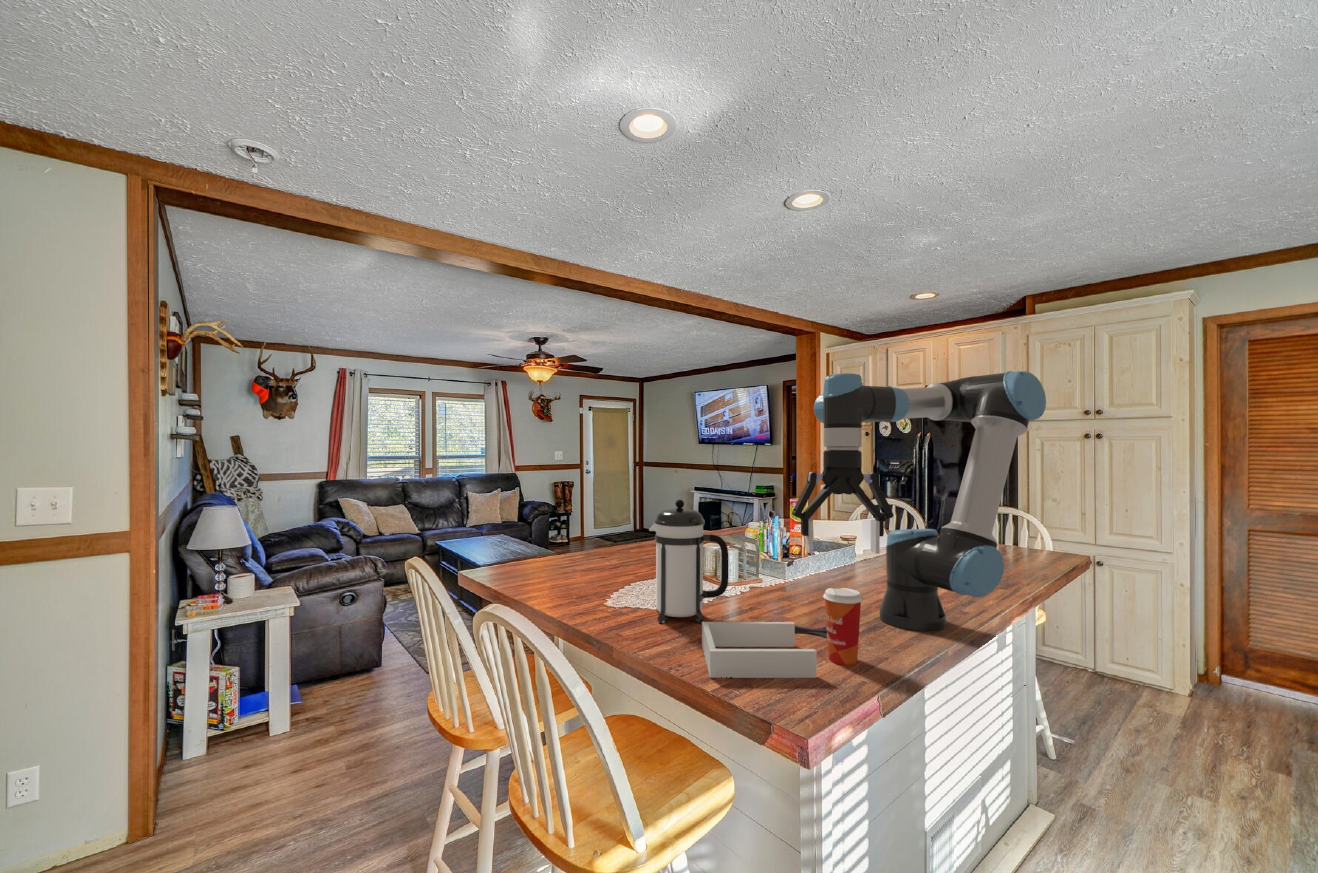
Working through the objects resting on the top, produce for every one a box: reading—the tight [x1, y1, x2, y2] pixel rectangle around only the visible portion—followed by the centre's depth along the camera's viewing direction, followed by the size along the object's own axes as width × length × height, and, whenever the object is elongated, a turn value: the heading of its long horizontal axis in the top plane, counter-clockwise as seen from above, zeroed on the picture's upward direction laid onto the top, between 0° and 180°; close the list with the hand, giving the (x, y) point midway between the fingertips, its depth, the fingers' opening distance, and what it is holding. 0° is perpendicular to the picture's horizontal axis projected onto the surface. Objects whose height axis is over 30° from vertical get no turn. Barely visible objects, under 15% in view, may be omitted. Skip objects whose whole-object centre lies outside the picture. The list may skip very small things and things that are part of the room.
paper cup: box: [822, 587, 863, 666], centre depth 114 cm, size 8×8×14 cm
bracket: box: [781, 620, 827, 639], centre depth 131 cm, size 14×15×3 cm
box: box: [701, 621, 817, 679], centre depth 114 cm, size 20×17×5 cm
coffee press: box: [648, 499, 729, 624], centre depth 143 cm, size 17×16×30 cm
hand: (842, 552), depth 114 cm, fingers open, 13 cm apart
